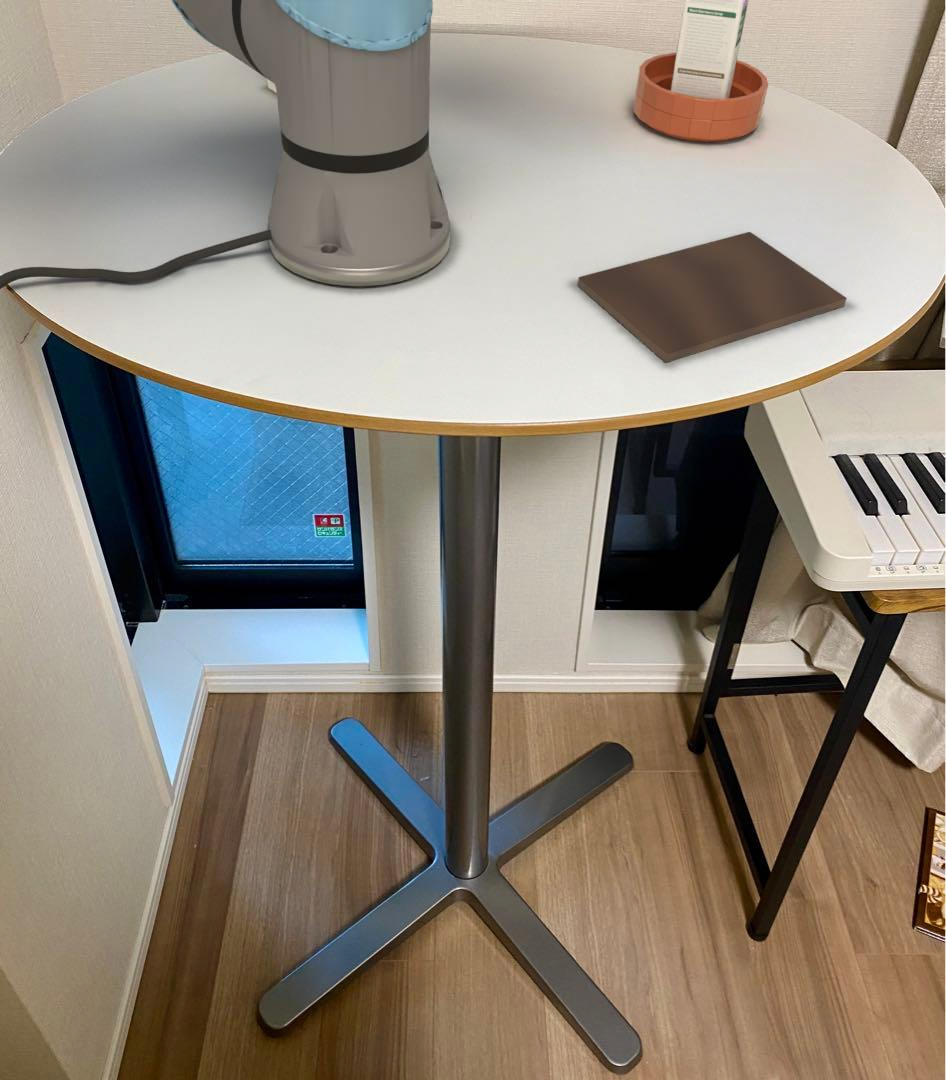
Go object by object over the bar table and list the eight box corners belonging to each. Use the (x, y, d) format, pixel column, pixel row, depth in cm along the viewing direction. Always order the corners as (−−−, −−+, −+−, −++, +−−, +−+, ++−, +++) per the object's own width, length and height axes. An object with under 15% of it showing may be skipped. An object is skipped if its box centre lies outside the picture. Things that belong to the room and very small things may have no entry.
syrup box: (719, 128, 103) (753, -27, 92) (663, 118, 104) (690, -36, 94) (727, 108, 107) (760, -44, 96) (673, 99, 108) (699, -52, 97)
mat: (665, 363, 74) (667, 353, 73) (577, 285, 81) (578, 276, 80) (844, 306, 80) (847, 297, 80) (747, 239, 87) (749, 231, 87)
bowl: (683, 154, 99) (691, 109, 96) (608, 106, 107) (614, 62, 104) (783, 132, 104) (794, 88, 101) (704, 87, 112) (713, 45, 109)
